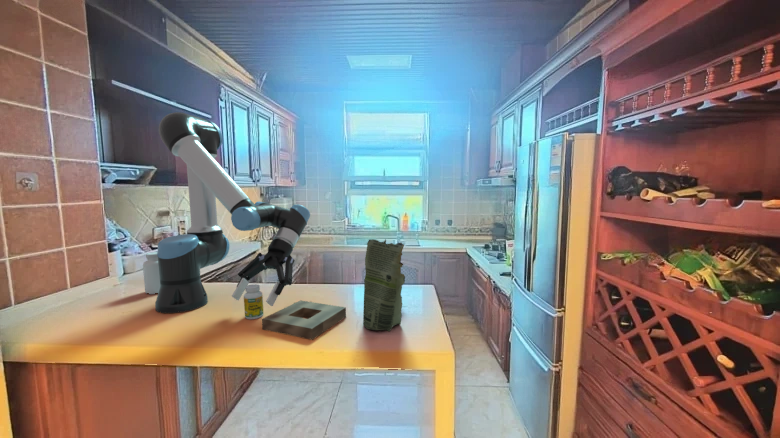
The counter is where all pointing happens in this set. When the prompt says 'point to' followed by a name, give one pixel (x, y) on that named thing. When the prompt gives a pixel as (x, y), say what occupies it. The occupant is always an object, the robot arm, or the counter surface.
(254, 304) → the supplement bottle
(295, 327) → the frame
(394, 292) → the pouch
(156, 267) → the pill bottle
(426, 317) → the counter surface
